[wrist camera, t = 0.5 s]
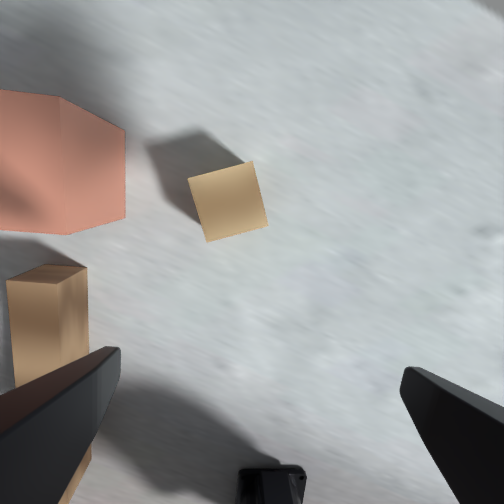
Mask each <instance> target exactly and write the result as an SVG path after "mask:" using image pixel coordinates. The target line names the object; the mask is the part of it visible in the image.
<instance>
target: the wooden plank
mask: <svg viewBox="0 0 504 504" xmlns="http://www.w3.org/2000/svg"><path fill="white" fill-rule="evenodd" d="M6 288H7V299H8V310H9V321H10V332H11V342H12V353H13V364H14V375H15V386H16V388H17V387H19V386H21V385H24V384H26V383H28V382H30V381H32V380H34V379H36V378H39V377H41V376H43V375H45V374H47V373H49V372H51V371H54V370H56V369H58V368H60V367H62V366H64V365H66V364H69V363H71V362H73V361H75V360H77V359H79V358H81V357H84V356H86V355H88V354H89V329H88V286H87V267H75V266H62V265H50V264H44V265H42V266H39V267H37V268H35V269H32V270H30V271H27V272H25V273H23V274H20V275H18V276H15V277H13V278H10V279H8V280H6ZM90 461H91V444H90V446H89V448H88V450H87V452H86V453H85V455H84V457H83V459H82V461H81V463H80V464H79V466H78V468H77V470H76V472H75V474H74V476H73V477H72V479H71V481H70V483H69V485H68V487H67V488H66V490H65V492H64V494H63V496H62V498H61V499H60V501H59V503H58V504H68V503H69V501H70V499H71V498H72V496H73V494H74V492H75V490H76V488H77V486H78V484H79V482H80V480H81V478H82V476H83V474H84V472H85V471H86V469H87V467H88V465H89V463H90Z"/></svg>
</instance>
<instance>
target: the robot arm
mask: <svg viewBox="0 0 504 504" xmlns="http://www.w3.org/2000/svg"><path fill="white" fill-rule="evenodd" d="M120 370H121V350H120V348H119V347H110V346H105V347H103V348H101V349H99V350H96V351H94V352H92V353H90V354H88V355H86V356H84V357H81V358H79V359H77V360H75V361H73V362H71V363H69V364H66V365H64V366H62V367H60V368H58V369H56V370H54V371H51V372H49V373H47V374H45V375H43V376H41V377H39V378H36V379H34V380H32V381H30V382H28V383H26V384H24V385H21V386H19V387H17V388H15V389H13V390H11V391H9V392H6V393H4V394H2V395H0V504H58V503H59V501H60V499H61V498H62V496H63V494H64V492H65V490H66V488H67V487H68V485H69V483H70V481H71V479H72V477H73V476H74V474H75V472H76V470H77V468H78V466H79V464H80V463H81V461H82V459H83V457H84V455H85V453H86V452H87V450H88V448H89V446H90V444H91V442H92V441H93V439H94V437H95V435H96V433H97V431H98V428H99V426H100V424H101V422H102V419H103V417H104V414H105V412H106V410H107V407H108V405H109V402H110V400H111V398H112V395H113V393H114V390H115V388H116V386H117V383H118V381H119V377H120ZM400 395H401V398H402V400H403V402H404V404H405V406H406V408H407V410H408V412H409V414H410V416H411V418H412V420H413V422H414V424H415V426H416V429H417V431H418V433H419V435H420V437H421V439H422V440H423V442H424V444H425V446H426V448H427V450H428V451H429V453H430V455H431V457H432V458H433V460H434V462H435V463H436V465H437V467H438V468H439V470H440V472H441V473H442V475H443V477H444V478H445V480H446V482H447V483H448V485H449V487H450V488H451V490H452V492H453V493H454V495H455V497H456V498H457V500H458V502H459V503H460V504H504V407H502V406H500V405H498V404H496V403H494V402H492V401H490V400H488V399H485V398H483V397H481V396H479V395H477V394H475V393H473V392H471V391H469V390H467V389H465V388H462V387H460V386H458V385H456V384H454V383H452V382H450V381H448V380H446V379H444V378H441V377H439V376H437V375H435V374H433V373H431V372H429V371H427V370H425V369H423V368H420V367H406V368H405V370H404V373H403V377H402V381H401V385H400ZM306 479H307V476H306V472H305V471H304V470H297V469H242V470H240V471H239V473H238V482H237V492H236V502H235V504H302V503H303V497H304V491H305V485H306Z"/></svg>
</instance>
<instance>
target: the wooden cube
mask: <svg viewBox="0 0 504 504" xmlns="http://www.w3.org/2000/svg"><path fill="white" fill-rule="evenodd" d="M187 180H188V183H189V186H190V189H191V193H192V196H193V199H194V202H195V206H196V209H197V212H198V216H199V219H200V222H201V225H202V229H203V232H204V235H205V238H206V242H211V241H214V240H218V239H222V238H226V237H229V236H233V235H237V234H241V233H244V232H248V231H252V230H255V229H259V228H263V227H267V226H268V222H267V217H266V213H265V209H264V205H263V201H262V197H261V193H260V189H259V185H258V181H257V177H256V173H255V169H254V165H253V161H251V162H247V163H243V164H239V165H236V166H232V167H228V168H224V169H221V170H217V171H213V172H209V173H206V174H202V175H198V176H194V177H191V178H187Z"/></svg>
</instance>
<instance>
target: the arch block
mask: <svg viewBox="0 0 504 504" xmlns="http://www.w3.org/2000/svg"><path fill="white" fill-rule="evenodd" d="M123 218H125V131H124V130H122V129H120V128H119V127H117V126H115V125H113V124H111V123H109V122H107V121H105V120H103V119H101V118H99V117H98V116H96V115H94V114H92V113H90V112H88V111H86V110H84V109H82V108H80V107H78V106H76V105H75V104H73V103H71V102H69V101H67V100H65V99H63V98H61V97H59V96H52V95H43V94H35V93H26V92H18V91H9V90H1V89H0V230H7V231H20V232H33V233H46V234H59V235H69V234H72V233H75V232H79V231H82V230H86V229H89V228H93V227H96V226H99V225H103V224H106V223H110V222H113V221H117V220H120V219H123Z"/></svg>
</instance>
